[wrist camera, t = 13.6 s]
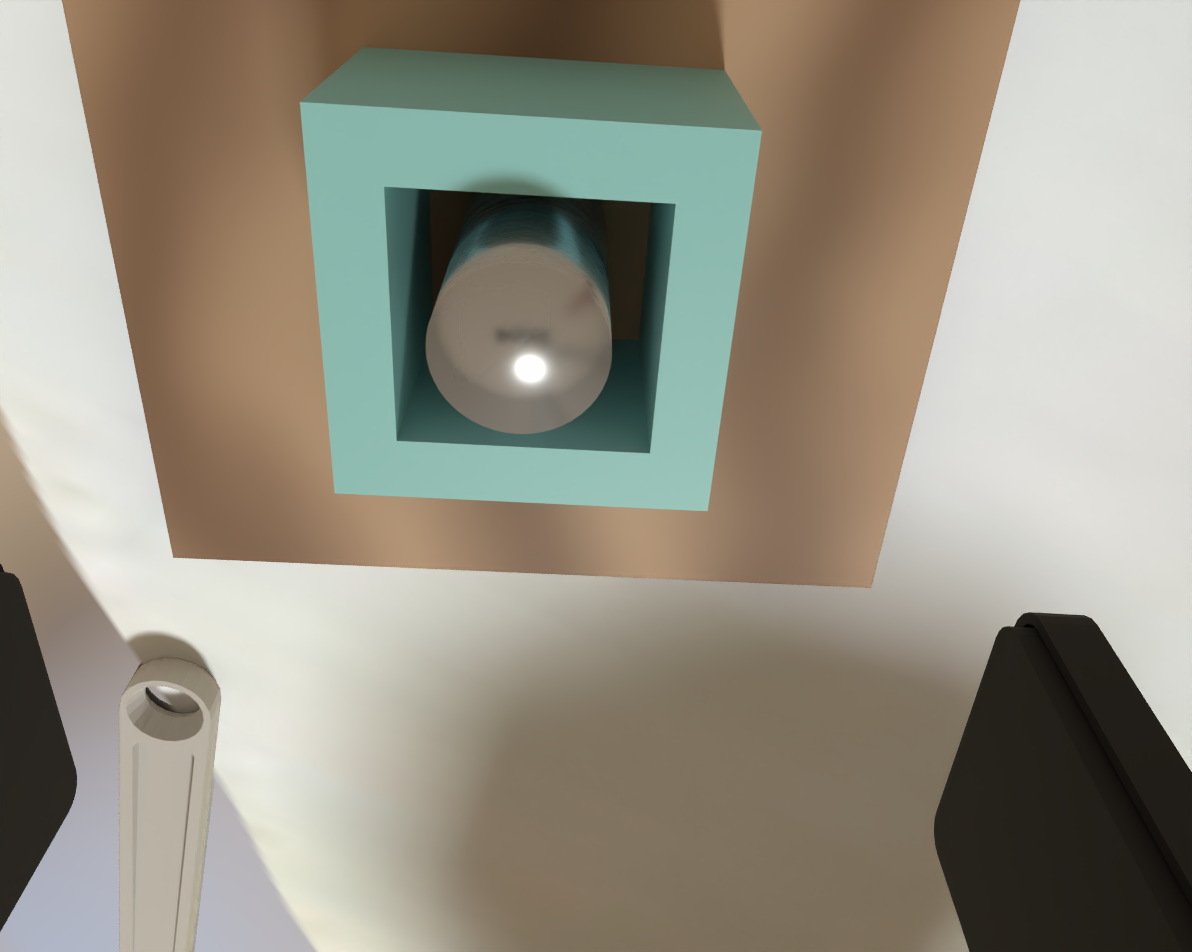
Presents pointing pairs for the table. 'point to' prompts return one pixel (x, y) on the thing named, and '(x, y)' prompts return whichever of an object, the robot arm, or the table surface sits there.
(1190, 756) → the table surface
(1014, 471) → the table surface
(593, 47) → the walnut board
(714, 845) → the table surface
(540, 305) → the steel post
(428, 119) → the teal collar
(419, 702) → the table surface
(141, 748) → the adjustable wrench
